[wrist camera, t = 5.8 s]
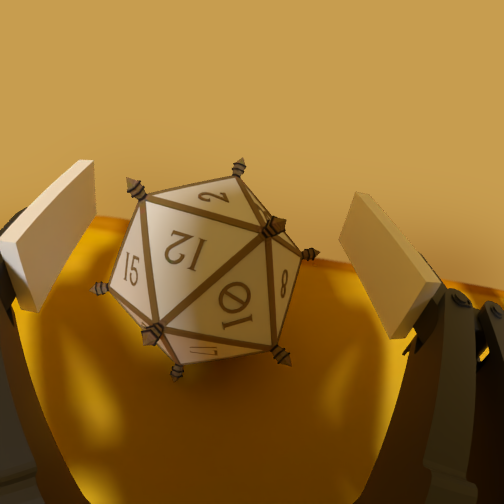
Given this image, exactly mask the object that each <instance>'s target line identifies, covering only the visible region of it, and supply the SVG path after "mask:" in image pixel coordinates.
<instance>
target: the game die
mask: <svg viewBox="0 0 504 504" xmlns="http://www.w3.org/2000/svg"><path fill="white" fill-rule="evenodd" d="M233 164H234V167H233V168H232V170H233V175H232V176H228V177H222V178H218V179H213V180H207V181H202V182H198V183H193V184H188V185H183V186H179V187H174V188H170V189H165V190H161V191H157V192H153V193H149V194H146V193H145V190H144V188H145V187H144V186H142V185H141V184H140V182H141V181H136V180H133V179H130V178H127V177H126V179H127V187H128V190H127V193H131V195H132V196H131V197H132V198H133V197H135V198H137V199H138V203H137V206H136V209H135V211H134V213H133V216H132V218H131V221H130V223H129V226H128V228H127V231H126V234H125V236H124V239H123V242H122V245H121V247H120V250H119V253H118V256H117V259H116V262H115V264H114V267H113V270H112V273H111V276H110V280H109V283H107V284H106V283H103V282H101V283H97V282H96V284H95V285H94V286H93V287H92V288H91V289H90V290H89V291H91V292H93V293H95V294H97V296H98V295H100V294H102V295H103V294H105V292H107V291H109V292H110V293H111V294H112V295H113V297H114V298H115V299H116V300H117V301H118V302H119V304H120V305H121V306H122V307H123V308H124V309H125V311H126V312H127V313H128V314H129V315H130V316H131V317H132V318H133V320H134V321H135V322H136V323H137V324H138V325H139V326H140V327H141V328H142V329H143V331H141V333H142V336H143V345H153V346H155V345H156V344H157V345H158V346H159V347H160V349H161V350H162V351H163V352H164V353H165V354H166V355H167V356H168V357H169V358H170V359H171V360H172V361H173V362H174V363H175V365H174V366H172V371H171V373H170V375H172V378H173V381H174V382H175V381H176V380H178V379H179V378H180V377H183V375H182V372H184V370H183V365H187V364H195V363H202V362H209V361H216V360H222V359H229V358H235V357H241V356H246V355H252V354H257V353H263V352H268V351H270V352H272V354H273V356H274V357H273V358H274V359H276V360H277V361H278V364H279V363H281V364H284V365H288V366H291V361H290V356H289V354H290V353H287V352H286V351H285V348H281V347H279V346H278V341H279V338H280V334H281V331H282V328H283V324H284V321H285V318H286V314H287V311H288V307H289V304H290V300H291V297H292V293H293V290H294V286H295V283H296V279H297V276H298V272H299V268H300V265H301V261H302V260H303V259H305V260H307V261H309V260H310V259H312V260H314V258H315V257H316V256H317V255H318V254H319V253H320V252H319V251H317V250H315V249H314V248H309V249H304V251H302V252H301V251H300V250H299V249H298V247H297V246H296V245H295V244H294V243H293V241H292V240H291V239H290V237H289V236H288V235H287V234H286V233H285V224H286V219H280V218H277V217H275V216H271V214H270V213H269V212H268V211H267V209H266V208H265V207H264V206H263V205H262V204H261V202H260V201H259V200H258V199H257V197H256V196H255V195H254V194H253V193H252V191H251V190H250V189H249V188H248V187H247V185H246V184H245V183H244V182H243V181H242V180H241V178H240V176H241V174H243V173H244V169H245V168H246V166H245V163H244V159H243V158H241V159H240V160H239V161H237V162H236V163H233Z"/></svg>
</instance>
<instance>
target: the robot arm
mask: <svg viewBox="0 0 504 504" xmlns="http://www.w3.org/2000/svg"><path fill="white" fill-rule="evenodd" d="M96 214H97V213H96V199H95V180H94V160H79V161H77V163H75V164H74V165H73V166H72V167H70V168H69V169H68V170H67V171H66V172H65V173H64V174H62V175H61V176H60V177H59V178H58V179H57V180H56V181H55V182H53V183H52V184H51V185H50V186H49V187H48V188H47V189H46V190H45V191H44V192H43V193H42V194H41V195H40V196H39V197H38V198H37V199H36V200H35V201H34V202H33V203H32V204H31V205H30V206H29V207H26V208H24V209H23V210H21V211H19V212H18V213H16V214H15V215H14V216H13V217H12V218H11V219H10V220H9V222H8V223H7V224H6V225H5V226H4V228H2V229H1V230H0V504H91V503H90V502H89V501H88V500H87V499H86V498H85V497H84V495H83V494H82V492H81V491H80V489H79V487H78V486H77V484H76V482H75V480H74V478H73V477H72V475H71V473H70V471H69V469H68V467H67V465H66V463H65V461H64V459H63V457H62V455H61V453H60V451H59V449H58V447H57V445H56V442H55V440H54V438H53V436H52V433H51V431H50V429H49V426H48V424H47V422H46V419H45V417H44V414H43V411H42V409H41V406H40V403H39V401H38V398H37V395H36V392H35V389H34V386H33V383H32V380H31V377H30V374H29V370H28V367H27V363H26V360H25V356H24V353H23V349H22V345H21V341H20V336H19V332H18V328H17V323H16V318H15V313H14V310H13V308H12V306H11V304H12V302H13V301H14V299H15V297H16V298H17V300H18V303H19V305H20V308H21V309H22V310H26V311H31V312H36V313H39V311H40V309H41V307H42V305H43V303H44V301H45V299H46V297H47V295H48V293H49V292H50V290H51V288H52V286H53V284H54V282H55V281H56V279H57V277H58V275H59V273H60V272H61V270H62V268H63V267H64V265H65V263H66V261H67V260H68V258H69V256H70V255H71V253H72V251H73V250H74V248H75V247H76V245H77V243H78V242H79V240H80V239H81V237H82V235H83V234H84V232H85V231H86V229H87V228H88V226H89V225H90V223H91V222H92V220H93V219H94V217H95V216H96ZM339 241H340V243H341V245H342V247H343V249H344V250H345V252H346V254H347V256H348V258H349V260H350V261H351V263H352V265H353V267H354V269H355V271H356V273H357V275H358V276H359V278H360V280H361V282H362V284H363V286H364V288H365V290H366V292H367V294H368V296H369V298H370V300H371V302H372V304H373V306H374V308H375V310H376V312H377V314H378V316H379V318H380V320H381V322H382V324H383V326H384V329H385V331H386V333H387V335H388V337H389V339H402V338H406V336H407V335H408V333H409V332H410V330H411V329H412V328H414V329H415V331H416V333H417V334H416V336H415V337H414V338H413V340H412V341H411V342H410V344H409V345H408V346H407V348H406V349H405V350H404V352H403V353H402V355H405V354H406V353H407V352H409V351H410V352H409V356H408V360H407V365H406V369H405V373H404V377H403V381H402V384H401V388H400V392H399V395H398V399H397V402H396V405H395V409H394V412H393V415H392V418H391V421H390V424H389V427H388V430H387V433H386V436H385V439H384V441H383V444H382V447H381V450H380V452H379V455H378V457H377V460H376V462H375V465H374V467H373V470H372V472H371V475H370V477H369V479H368V482H367V484H366V486H365V488H364V490H363V492H362V494H361V496H360V497H359V498H358V499H357V500H356V501H355V502H354V503H353V504H504V311H503V310H502V308H501V306H499V305H498V304H497V303H494V302H492V301H486V302H485V304H484V305H483V307H482V308H481V309H480V310H479V309H476V308H473V306H472V303H471V301H470V300H469V299H468V298H467V297H466V296H465V295H464V294H463V293H461V292H460V291H458V290H456V289H452V288H449V289H447V288H446V286H445V285H444V284H443V282H442V281H441V279H440V278H439V277H438V275H437V274H436V273H435V271H434V270H432V267H431V266H430V265H429V264H427V261H426V260H425V258H424V257H423V256H422V255H421V254H420V253H419V252H418V251H417V250H416V249H415V248H414V246H413V245H412V244H411V243H410V241H409V240H408V239H407V238H406V237H405V235H404V234H403V233H402V232H401V231H400V230H399V228H398V227H397V226H396V225H395V223H394V222H393V221H392V220H391V219H390V218H389V216H388V215H387V214H386V213H385V212H384V211H383V210H382V209H381V207H380V206H379V205H378V204H377V203H376V202H375V201H374V200H373V199H372V197H371V196H370V195H368V194H364V193H359V192H356V193H355V195H354V198H353V201H352V204H351V207H350V209H349V212H348V215H347V218H346V221H345V224H344V226H343V229H342V232H341V234H340V237H339ZM487 347H489V354H488V355H487V356H486V357H485V359H484V360H483V361H480V358H479V356H480V355H481V354H482V353H483V352H484V351H485V349H486V348H487Z"/></svg>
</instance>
